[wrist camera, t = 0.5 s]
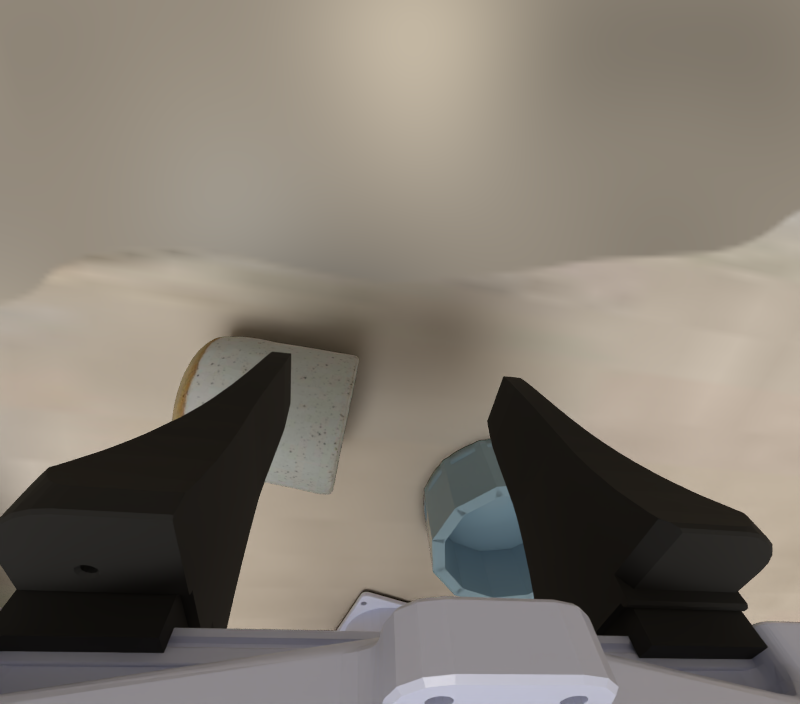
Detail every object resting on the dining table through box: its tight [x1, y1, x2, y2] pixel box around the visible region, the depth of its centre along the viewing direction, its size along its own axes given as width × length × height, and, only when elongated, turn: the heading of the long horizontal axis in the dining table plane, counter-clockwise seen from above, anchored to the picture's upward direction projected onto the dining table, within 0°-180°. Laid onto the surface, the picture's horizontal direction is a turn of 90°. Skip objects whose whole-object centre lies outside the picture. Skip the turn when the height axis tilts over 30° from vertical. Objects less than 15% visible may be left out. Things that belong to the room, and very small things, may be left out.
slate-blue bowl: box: [423, 439, 534, 599], centre depth 27 cm, size 11×11×4 cm
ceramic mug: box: [172, 337, 359, 494], centre depth 21 cm, size 11×8×8 cm
